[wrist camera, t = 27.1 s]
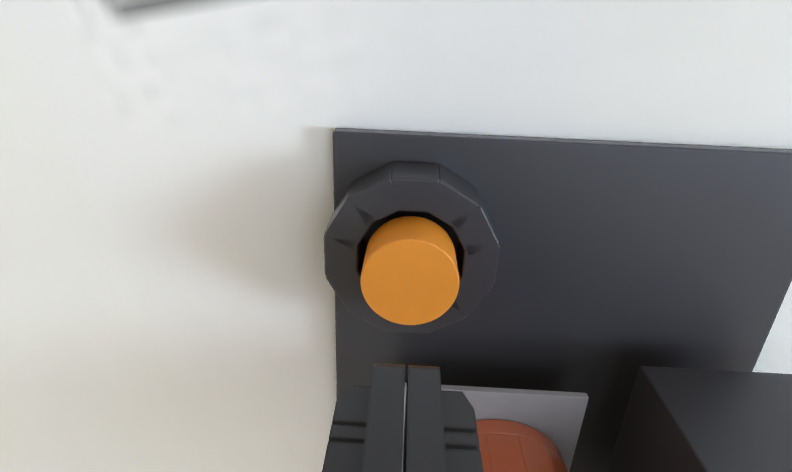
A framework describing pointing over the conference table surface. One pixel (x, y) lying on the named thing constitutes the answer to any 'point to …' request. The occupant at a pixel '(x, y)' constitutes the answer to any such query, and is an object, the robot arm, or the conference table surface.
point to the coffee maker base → (566, 261)
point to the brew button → (410, 271)
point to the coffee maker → (666, 420)
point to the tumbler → (516, 448)
